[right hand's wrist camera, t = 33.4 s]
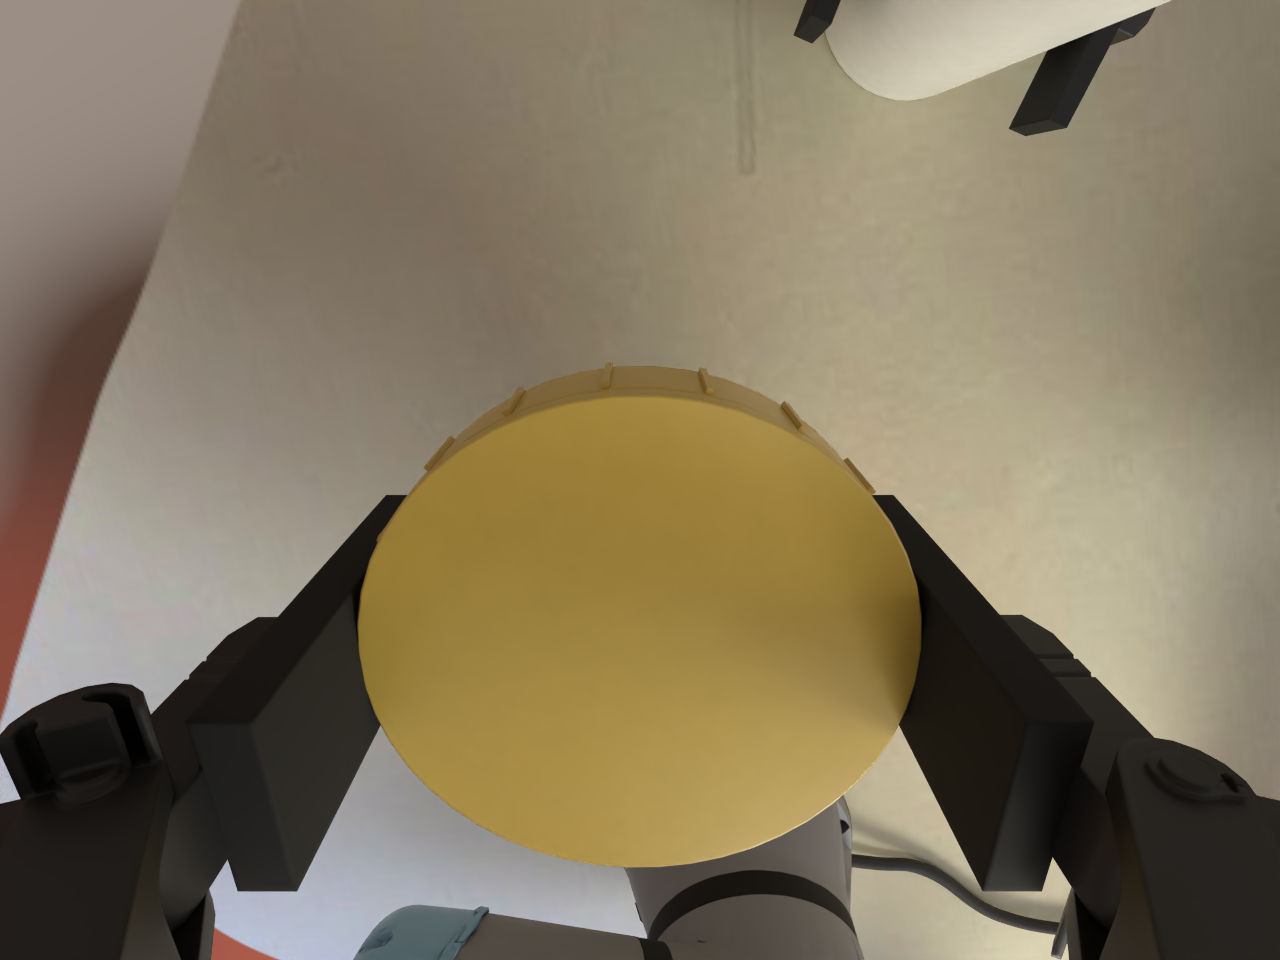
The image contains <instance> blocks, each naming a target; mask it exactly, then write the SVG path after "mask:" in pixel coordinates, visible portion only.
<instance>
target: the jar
mask: <svg viewBox="0 0 1280 960" xmlns="http://www.w3.org/2000/svg"><path fill="white" fill-rule="evenodd" d="M1169 1H1171V0H841V1H840V4H839V6H838V9H837V11H836V14H835V16H834V19H833V22H832V24H831V25H830V26H829V27H828V28H827V29H826V30H825V34H826V37H827V41H828V43H829V46H830V48H831V50H832V53H833V55H834V56H835V58H836V60H837V61H838V63H839V65H840V66H841V67H842V69H843V70H844V71H845V72H846V74H847V75H848V76H849V77H850V78H851V79H852V80H853V81H855V82H856V83H857V84H858V85H860V86H861V87H863V88H864V89H865V90H867V91H869V92H871V93H873V94H875V95H878V96H881V97H884V98H888V99H894V100H917V99H923V98H927V97H931V96H934V95H937V94H940V93H942V92H945V91H947V90H950V89H952V88H955V87H957V86H960V85H962V84H965V83H967V82H970V81H972V80H975V79H977V78H980V77H982V76H985V75H987V74H990V73H992V72H995V71H997V70H1000V69H1002V68H1004V67H1007V66H1009V65H1012V64H1014V63H1017V62H1019V61H1022V60H1024V59H1027V58H1029V57H1032V56H1034V55H1037V54H1039V53H1042V52H1044V51H1047V50H1049V49H1052V48H1054V47H1057V46H1059V45H1062V44H1064V43H1067V42H1069V41H1072V40H1074V39H1077V38H1079V37H1082V36H1084V35H1087V34H1089V33H1092V32H1094V31H1097V30H1099V29H1102V28H1104V27H1107V26H1109V25H1112V24H1114V23H1117V22H1119V21H1122V20H1124V19H1127V18H1129V17H1132V16H1134V15H1137V14H1139V13H1141V12H1144V11H1146V10H1149V9H1151V8H1154V7H1156V6H1159V5H1161V4H1164V3H1166V2H1169Z"/></svg>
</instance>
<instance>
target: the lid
mask: <svg viewBox="0 0 1280 960" xmlns="http://www.w3.org/2000/svg"><path fill="white" fill-rule="evenodd" d="M424 468H425V469H426V470H427V472H426V473H425V474H424V476H423V477H422V478H421V479H420V480H419V482H418V483H417V484H416V485H415V487H414V488H413V489H412V490H411V492H410V493H409V494H408V495H407V496H406V498H405V499H404V500H403V502H402V503H401V505H400V506H399V508H398V509H397V511H396V512H395V513H394V515H393V516H392V518H391V519H390V521H389V522H388V524H387V525H386V527H385V528H384V530H383V531H382V532H381V533H380V535H379V536H378V538H377V542H378V543H377V545H376V547H375V550H374V552H373V554H372V556H371V558H370V561H369V564H368V568H367V571H366V575H365V578H364V582H363V585H362V589H361V594H360V603H359V611H358V620H357V631H358V648H359V655H360V660H361V665H362V671H363V676H364V681H365V687H366V691H367V693H368V696H369V699H370V702H371V704H372V707H373V710H374V713H375V715H376V717H377V719H378V721H379V722H380V724H381V726H382V728H383V730H384V732H385V734H386V735H387V737H388V739H389V741H390V742H391V744H392V745H393V747H394V748H395V749H396V751H397V752H398V753H399V755H400V756H401V758H402V759H403V760H404V762H405V763H406V765H407V766H408V767H409V768H410V769H411V770H412V771H413V772H414V773H415V774H416V775H417V777H418V778H419V779H420V780H421V781H422V782H423V783H424V784H425V785H426V786H427V787H428V788H429V789H430V790H431V791H432V792H434V793H435V794H436V795H437V796H438V797H440V798H441V799H442V800H443V801H444V802H446V803H447V804H448V805H449V806H450V807H452V808H453V809H455V810H456V811H458V812H459V813H461V814H462V815H464V816H465V817H467V818H468V819H470V820H471V821H473V822H474V823H476V824H477V825H479V826H481V827H483V828H485V829H487V830H489V831H491V832H493V833H495V834H496V835H498V836H500V837H502V838H504V839H506V840H509V841H511V842H514V843H517V844H519V845H522V846H524V847H527V848H529V849H532V850H534V851H538V852H542V853H545V854H549V855H552V856H556V857H559V858H563V859H567V860H573V861H578V862H584V863H589V864H595V865H606V866H618V867H664V866H673V865H683V864H691V863H696V862H701V861H706V860H711V859H716V858H721V857H725V856H728V855H731V854H734V853H738V852H741V851H744V850H747V849H751V848H753V847H756V846H758V845H761V844H763V843H765V842H768V841H770V840H772V839H775V838H777V837H780V836H782V835H783V834H785V833H787V832H789V831H791V830H793V829H794V828H796V827H798V826H800V825H802V824H804V823H805V822H807V821H809V820H810V819H812V818H813V817H815V816H816V815H817V814H819V813H820V812H822V811H823V810H825V809H826V808H827V807H829V806H830V805H832V804H833V803H834V802H835V801H837V800H838V799H839V798H840V797H841V796H842V795H843V794H844V793H846V792H847V791H848V790H849V789H850V788H851V787H852V786H854V785H855V784H856V783H857V782H858V781H859V779H860V778H861V777H862V776H863V775H864V774H865V773H866V771H867V770H868V769H869V768H870V767H871V766H872V765H873V764H874V762H875V761H876V760H877V759H878V757H879V756H880V754H881V753H882V751H883V750H884V748H885V747H886V745H887V744H888V742H889V741H890V740H891V738H892V737H893V735H894V733H895V731H896V729H897V727H898V725H899V723H900V721H901V719H902V717H903V715H904V713H905V711H906V709H907V706H908V703H909V700H910V697H911V694H912V691H913V688H914V684H915V680H916V674H917V669H918V663H919V657H920V652H921V643H922V615H921V608H920V601H919V595H918V588H917V583H916V580H915V577H914V574H913V571H912V568H911V565H910V561H909V558H908V555H907V552H906V551H905V549H904V547H903V545H902V543H901V541H900V539H899V537H898V535H897V533H896V531H895V529H894V527H893V525H892V523H891V521H890V520H889V519H888V517H887V516H886V515H885V513H884V512H883V510H882V509H881V508H880V506H879V505H878V503H877V502H876V501H875V499H874V498H873V497H872V494H874V493H875V490H874V489H873V487H872V486H871V485H870V484H869V483H868V481H867V480H866V479H865V478H864V477H863V475H862V474H861V473H860V472H859V471H858V469H857V468H856V467H855V466H854V465H853V463H852V462H851V461H850V460H849V459H848V458H846V459H845V460H843V459H842V458H841V457H840V456H839V454H838V453H837V452H836V451H835V450H834V449H833V448H832V447H831V446H830V445H829V444H828V443H827V442H826V441H825V440H824V439H823V438H822V437H821V436H820V435H819V434H818V433H817V432H816V431H815V430H814V429H813V428H812V427H811V426H809V425H808V424H807V423H805V422H804V421H803V420H801V419H800V418H799V416H798V415H797V414H796V412H795V411H794V410H793V409H792V407H791V406H790V405H789V404H788V403H786V402H785V401H784V402H783V403H782V405H780V404H778V403H776V402H774V401H773V400H771V399H769V398H767V397H765V396H764V395H762V394H760V393H758V392H756V391H754V390H751V389H749V388H746V387H744V386H741V385H739V384H736V383H733V382H731V381H728V380H726V379H723V378H719V377H715V376H711V375H708V373H707V371H706V369H704V368H699V371H698V372H695V371H691V370H683V369H674V368H665V367H657V366H630V367H613V364H612V363H606V364H605V368H604V369H598V370H591V371H584V372H579V373H576V374H572V375H569V376H565V377H562V378H558V379H554V380H551V381H547V382H545V383H543V384H540V385H538V386H536V387H533V388H531V389H529V390H526V391H525V390H524V388H523V387H520V388H518V389H517V390H516V391H515V393H514V394H513V396H512V397H511V398H510V399H508V400H506V401H505V402H503V403H502V404H500V405H498V406H497V407H495V408H493V409H492V410H490V411H488V412H487V413H485V414H484V415H483V416H481V417H480V418H479V419H478V420H476V421H475V422H474V423H473V424H472V425H470V426H469V427H468V428H467V429H465V430H464V431H463V432H462V433H461V434H459V435H458V437H457V438H456V439H454V438H453V437H452V436H450V437H449V438H448V439H447V440H446V442H445V443H444V444H443V445H442V446H441V448H440V449H439V450H438V451H437V452H436V453H435V455H434V456H433V457H432V458H431V459H430V461H429V462H428V463H427V464H426V465H425V467H424Z"/></svg>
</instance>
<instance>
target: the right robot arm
mask: <svg viewBox="0 0 1280 960" xmlns="http://www.w3.org/2000/svg"><path fill="white" fill-rule="evenodd" d="M406 496H407V495H386V496H385V497H384V498H383V499H382V500H381V502H380V503H379V504H378V505H377V506H376V507H375V508H374V509H373V511H372V512H371V513H370V514H369V515H368V516H367V517H366V519H365V520H364V521H363V522H362V523H361V524H360V525H359V526H358V528H357V529H356V530H355V531H354V532H353V533H352V534H351V535H350V537H349V538H348V539H347V540H346V541H345V542H344V543H343V544H342V546H341V547H340V548H339V549H338V550H337V551H336V552H335V553H334V555H333V556H332V557H331V558H330V559H329V560H328V561H327V562H326V564H325V565H324V566H323V567H322V568H321V569H320V570H319V571H318V573H317V574H316V575H315V576H314V577H313V578H312V579H311V580H310V582H309V583H308V584H307V585H306V586H305V587H304V588H303V589H302V591H301V592H300V593H299V594H298V595H297V596H296V597H295V598H294V600H293V601H292V602H291V603H290V604H289V605H288V606H287V607H286V609H285V610H284V611H283V612H282V613H281V614H280V615H279V616H278V617H257V618H256V619H254V620H252V621H251V622H249V623H247V624H246V625H244V626H243V627H241V628H239V629H238V630H236V631H234V632H233V633H231V634H229V635H228V636H227V637H226V638H225V639H224V640H223V641H222V642H221V643H220V644H219V645H218V646H217V647H216V648H215V649H214V650H213V651H212V652H211V653H210V654H209V655H208V656H207V660H206V661H202V662H201V663H200V665H199V666H198V667H197V668H196V669H195V670H194V671H193V672H192V673H191V674H190V675H189V679H188V680H184V681H183V682H182V683H181V684H180V685H179V686H178V687H177V688H176V689H175V690H174V691H173V692H172V693H171V694H170V695H169V697H168V698H167V699H166V700H165V701H164V702H163V703H162V704H161V705H160V706H159V707H158V708H157V709H156V710H155V711H154V712H153V713H152V714H150V711H149V708H148V705H147V702H146V699H145V696H144V693H143V692H142V691H141V690H139V689H138V688H136V687H134V686H133V685H129V684H119V683H107V684H101V685H94V686H87V687H84V688H80V689H77V690H74V691H71V692H68V693H65V694H61V695H59V696H56V697H54V698H52V699H50V700H48V701H46V702H44V703H42V704H40V705H38V706H36V707H34V708H32V709H30V710H29V711H27V712H26V713H25V714H23V715H22V716H20V717H19V718H17V719H16V720H15V721H13V722H12V723H10V724H9V725H8V726H7V727H6V729H5V730H4V731H3V732H2V733H1V734H0V754H1V756H2V758H3V760H4V763H5V765H6V767H7V769H8V771H9V774H10V776H11V778H12V780H13V783H14V785H15V787H16V789H17V791H18V794H19V796H20V798H21V799H20V800H15V801H11V802H6V803H2V804H0V960H211V954H212V944H213V934H214V924H215V910H214V905H213V900H212V897H211V894H210V891H209V888H210V886H211V885H212V883H213V882H214V880H215V878H216V877H217V875H218V874H219V872H220V871H221V869H222V867H223V866H224V864H225V863H226V861H227V859H228V862H229V865H230V868H231V871H232V874H233V878H234V881H235V884H236V887H237V890H238V891H297V890H298V888H299V886H300V884H301V882H302V880H303V878H304V876H305V874H306V872H307V870H308V868H309V866H310V864H311V862H312V860H313V858H314V856H315V854H316V852H317V850H318V848H319V846H320V844H321V842H322V840H323V838H324V836H325V834H326V833H327V831H328V829H329V827H330V825H331V823H332V821H333V819H334V817H335V815H336V813H337V811H338V809H339V807H340V805H341V803H342V801H343V799H344V797H345V795H346V793H347V791H348V789H349V787H350V785H351V783H352V781H353V779H354V777H355V775H356V773H357V771H358V769H359V767H360V765H361V763H362V761H363V759H364V757H365V755H366V753H367V751H368V749H369V747H370V745H371V743H372V741H373V739H374V737H375V735H376V733H377V731H378V729H379V727H380V725H381V724H380V722H379V721H378V719H377V717H376V715H375V713H374V710H373V707H372V704H371V702H370V699H369V696H368V693H367V691H366V687H365V681H364V676H363V671H362V665H361V660H360V655H359V648H358V631H357V620H358V611H359V603H360V594H361V589H362V585H363V582H364V578H365V575H366V571H367V568H368V564H369V561H370V558H371V556H372V554H373V552H374V550H375V547H376V545H377V543H378V542H377V538H378V536H379V535H380V533H381V532H382V531H383V530H384V528H385V527H386V525H387V524H388V522H389V521H390V519H391V518H392V516H393V515H394V513H395V512H396V511H397V509H398V508H399V506H400V505H401V503H402V502H403V500H404V499H405V498H406ZM872 497H873V498H874V499H875V501H876V502H877V503H878V505H879V506H880V508H881V509H882V510H883V512H884V513H885V515H886V516H887V517H888V519H889V520H890V521H891V523H892V525H893V527H894V529H895V531H896V533H897V535H898V537H899V539H900V541H901V543H902V545H903V547H904V549H905V551H906V552H907V555H908V558H909V561H910V565H911V568H912V571H913V574H914V577H915V580H916V583H917V588H918V595H919V601H920V608H921V615H922V643H921V652H920V657H919V663H918V669H917V674H916V680H915V684H914V688H913V691H912V694H911V697H910V700H909V703H908V706H907V709H906V711H905V713H904V715H903V717H902V719H901V721H900V723H899V726H900V728H901V730H902V732H903V734H904V736H905V738H906V740H907V742H908V744H909V746H910V748H911V750H912V752H913V754H914V756H915V758H916V760H917V762H918V764H919V766H920V768H921V770H922V772H923V774H924V776H925V778H926V780H927V782H928V784H929V786H930V788H931V790H932V792H933V794H934V796H935V798H936V800H937V802H938V804H939V806H940V807H941V809H942V811H943V813H944V815H945V817H946V819H947V821H948V823H949V825H950V827H951V829H952V831H953V833H954V835H955V837H956V839H957V841H958V843H959V845H960V847H961V849H962V851H963V853H964V855H965V857H966V859H967V861H968V863H969V865H970V867H971V869H972V871H973V873H974V875H975V877H976V879H977V881H978V883H979V885H980V887H981V889H982V891H1042V889H1043V886H1044V882H1045V879H1046V876H1047V873H1048V870H1049V866H1050V863H1051V860H1052V857H1053V858H1054V860H1055V861H1056V863H1057V865H1058V866H1059V868H1060V869H1061V871H1062V872H1063V874H1064V875H1065V877H1066V879H1067V880H1068V882H1069V883H1070V885H1071V886H1072V888H1071V891H1070V894H1069V897H1068V900H1067V903H1066V906H1065V908H1064V911H1063V914H1062V917H1061V920H1060V923H1058V922H1050V921H1044V920H1038V919H1032V918H1028V917H1024V916H1020V915H1016V914H1012V913H1009V912H1006V911H1003V910H1000V909H998V908H995V907H993V906H991V905H989V904H987V903H985V902H983V901H982V900H980V899H978V898H977V897H976V896H974V895H973V894H971V893H970V892H969V891H967V890H966V889H965V888H963V887H962V886H961V885H960V884H958V883H957V882H956V881H955V880H953V879H952V878H951V877H949V876H948V875H946V874H945V873H943V872H942V871H940V870H938V869H936V868H934V867H932V866H930V865H928V864H925V863H923V862H920V861H917V860H913V859H907V858H884V857H873V856H864V855H855V854H851V850H852V827H851V818H850V813H849V809H848V806H847V804H846V801H845V798H844V795H842V796H841V797H840V798H839V799H838V800H837V801H835V802H834V803H833V804H832V805H830V806H829V807H827V808H826V809H825V810H823V811H822V812H820V813H819V814H817V815H816V816H815V817H813V818H812V819H810V820H809V821H807V822H805V823H804V824H802V825H800V826H798V827H796V828H794V829H793V830H791V831H789V832H787V833H785V834H783V835H782V836H780V837H777V838H775V839H772V840H770V841H768V842H765V843H763V844H761V845H758V846H756V847H753V848H751V849H747V850H744V851H741V852H738V853H734V854H731V855H728V856H725V857H721V858H716V859H711V860H706V861H701V862H696V863H691V864H683V865H673V866H664V867H624V868H625V871H626V873H627V875H628V877H629V880H630V884H631V887H632V890H633V894H634V897H635V900H636V903H637V904H636V903H635V905H636V908H637V911H638V914H639V918H640V921H641V922H643V925H644V928H645V930H646V933H647V939H644V938H638V937H635V936H629V935H622V934H616V933H610V932H604V931H597V930H591V929H585V928H579V927H572V926H566V925H560V924H553V923H547V922H541V921H535V920H528V919H522V918H516V917H510V916H503V915H497V914H491V913H489V908H488V907H482V906H481V907H478V908H477V909H475V910H465V909H455V908H445V907H435V906H425V905H411V906H407V907H403V908H401V909H398V910H396V911H394V912H393V913H391V914H389V915H388V916H387V917H386V918H384V919H383V920H382V921H381V922H380V923H379V924H378V925H377V926H376V927H375V928H374V930H373V931H372V932H371V933H370V935H369V936H368V937H367V939H366V940H365V942H364V943H363V945H362V946H361V948H360V949H359V951H358V952H357V954H356V956H355V958H354V959H353V960H864V957H863V954H862V951H861V948H860V945H859V942H858V938H857V935H856V932H855V928H854V925H853V921H852V918H851V914H850V898H851V867H855V868H864V869H873V870H887V871H909V872H914V873H917V874H920V875H923V876H925V877H928V878H930V879H932V880H934V881H936V882H937V883H939V884H941V885H942V886H944V887H945V888H947V889H948V890H949V891H951V892H952V893H953V894H954V895H956V896H957V897H958V898H960V899H961V900H962V901H963V902H965V903H966V904H967V905H969V906H970V907H972V908H973V909H975V910H976V911H978V912H979V913H981V914H983V915H985V916H987V917H989V918H991V919H993V920H996V921H998V922H1001V923H1004V924H1007V925H1010V926H1014V927H1017V928H1021V929H1025V930H1030V931H1035V932H1041V933H1047V934H1054V935H1055V938H1054V942H1053V947H1052V952H1051V956H1053V957H1055V958H1058V959H1060V960H1061V958H1062V955H1063V953H1064V950H1065V947H1066V944H1068V952H1069V960H1280V801H1278V800H1274V799H1269V798H1265V797H1260V796H1257V795H1256V794H1255V793H1254V792H1253V790H1252V789H1251V787H1250V786H1249V785H1248V783H1247V782H1246V781H1245V780H1244V779H1243V778H1241V777H1240V776H1239V775H1238V774H1236V773H1235V772H1234V771H1233V770H1231V769H1230V768H1229V767H1228V766H1226V765H1225V764H1224V763H1222V762H1220V761H1218V760H1216V759H1214V758H1213V757H1211V756H1209V755H1207V754H1205V753H1203V752H1202V751H1200V750H1197V749H1194V748H1192V747H1189V746H1186V745H1183V744H1180V743H1178V742H1175V741H1171V740H1165V739H1159V738H1154V737H1153V736H1152V735H1151V734H1150V733H1149V732H1148V731H1147V730H1146V729H1145V728H1144V727H1143V726H1142V725H1141V724H1140V722H1139V721H1138V720H1137V719H1136V718H1135V717H1134V716H1133V715H1132V714H1131V713H1130V712H1129V711H1128V710H1127V709H1126V708H1125V707H1124V706H1123V705H1122V704H1121V703H1120V702H1119V701H1118V700H1117V699H1116V698H1115V697H1114V696H1113V695H1112V694H1111V693H1110V692H1109V691H1108V690H1107V689H1106V688H1105V687H1104V686H1103V685H1102V683H1101V682H1100V681H1099V680H1098V679H1097V678H1096V677H1091V672H1090V671H1089V670H1088V669H1087V668H1086V667H1085V666H1084V665H1083V664H1082V663H1081V662H1080V661H1079V660H1078V659H1074V657H1073V654H1072V653H1071V652H1070V651H1069V650H1068V649H1067V648H1066V647H1065V646H1064V645H1063V643H1062V642H1061V641H1060V640H1059V639H1058V638H1057V637H1056V636H1055V635H1054V634H1053V633H1051V632H1050V631H1048V630H1046V629H1045V628H1043V627H1041V626H1040V625H1038V624H1036V623H1035V622H1033V621H1031V620H1030V619H1028V618H1026V617H1025V616H1023V615H999V614H998V612H997V611H996V610H995V609H994V608H993V607H992V606H991V605H990V603H989V602H988V601H987V600H986V599H985V598H984V597H983V596H982V594H981V593H980V592H979V591H978V590H977V589H976V588H975V587H974V585H973V584H972V583H971V582H970V581H969V580H968V579H967V578H966V576H965V575H964V574H963V573H962V572H961V571H960V570H959V569H958V567H957V566H956V565H955V564H954V563H953V562H952V561H951V560H950V558H949V557H948V556H947V555H946V554H945V553H944V552H943V551H942V549H941V548H940V547H939V546H938V545H937V544H936V543H935V542H934V540H933V539H932V538H931V537H930V536H929V535H928V534H927V533H926V531H925V530H924V529H923V528H922V527H921V526H920V525H919V524H918V522H917V521H916V520H915V519H914V518H913V517H912V516H911V514H910V513H909V512H908V511H907V510H906V509H905V508H904V507H903V505H902V504H901V503H900V502H899V501H898V500H897V499H896V498H895V496H894V495H872Z"/></svg>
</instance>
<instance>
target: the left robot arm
mask: <svg viewBox="0 0 1280 960" xmlns="http://www.w3.org/2000/svg"><path fill="white" fill-rule="evenodd" d="M840 1H841V0H807V1H806V4H805V7H804V9H803V12H802V14H801V17H800V20H799V22H798V25H797V28H796V30H795V33H794V36H796V37H798V38H801V39H803V40H805V41H808V42H810V43H813V42H814V41H815V40H816V39H817V38H818V37H819V36H820V35H821V34H822V33H823V32H824V31H825V30H826V29H827V28H828V27H829V26H830V25H831V24H832V22H833V19H834V16H835V14H836V11H837V9H838V6H839V4H840ZM1155 8H1156V7H1154V8H1151V9H1149V10H1146V11H1144V12H1141V13H1139V14H1137V15H1134V16H1132V17H1129V18H1127V19H1124V20H1122V21H1119V22H1117V23H1114V24H1112V25H1109V26H1107V27H1104V28H1102V29H1099V30H1097V31H1094V32H1092V33H1089V34H1087V35H1084V36H1082V37H1079V38H1077V39H1074V40H1072V41H1069V42H1067V43H1064V44H1062V45H1059V46H1057V47H1054V48H1052V49H1049V50H1048V51H1047V53H1046V55H1045V57H1044V59H1043V61H1042V63H1041V65H1040V67H1039V69H1038V71H1037V73H1036V75H1035V77H1034V79H1033V81H1032V83H1031V85H1030V87H1029V89H1028V91H1027V93H1026V95H1025V97H1024V99H1023V101H1022V103H1021V105H1020V107H1019V109H1018V111H1017V113H1016V115H1015V117H1014V119H1013V121H1012V123H1011V125H1010V127H1009V129H1011V130H1013V131H1015V132H1017V133H1020V134H1022V135H1024V136H1028V135H1033V134H1038V133H1043V132H1048V131H1053V130H1058V129H1063V128H1067V126H1068V124H1069V122H1070V121H1071V119H1072V117H1073V115H1074V113H1075V111H1076V109H1077V107H1078V105H1079V103H1080V101H1081V100H1082V98H1083V96H1084V94H1085V92H1086V90H1087V88H1088V86H1089V84H1090V82H1091V81H1092V79H1093V77H1094V75H1095V73H1096V71H1097V69H1098V67H1099V65H1100V63H1101V62H1102V60H1103V58H1104V56H1105V54H1106V52H1107V50H1108V48H1109V46H1110V45H1113V44H1115V43H1118V42H1121V41H1124V40H1127V39H1129V38H1132V37H1134V36H1135V35H1136V34H1137V33H1138V32H1139V31H1140V30H1141V29H1142V28H1143V27H1144V26H1145V25H1146V24H1147V23H1148V21H1149V19H1150V17H1151V15H1152V14H1153V12H1154V10H1155Z"/></svg>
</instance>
